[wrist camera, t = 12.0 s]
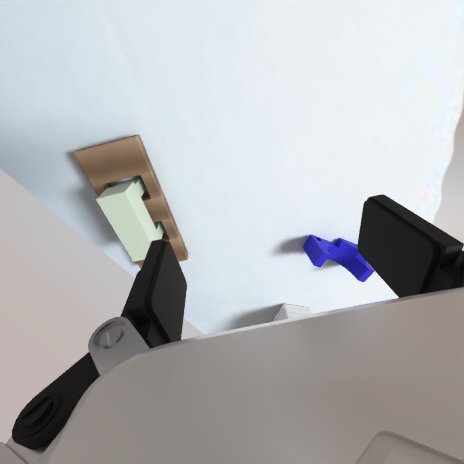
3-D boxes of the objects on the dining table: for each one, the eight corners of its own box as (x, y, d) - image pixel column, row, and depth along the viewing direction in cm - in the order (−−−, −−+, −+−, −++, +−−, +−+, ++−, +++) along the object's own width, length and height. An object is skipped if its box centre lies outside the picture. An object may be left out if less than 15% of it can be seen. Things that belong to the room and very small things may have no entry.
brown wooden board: (80, 149, 33) (73, 153, 31) (139, 134, 33) (135, 136, 31) (144, 263, 45) (141, 269, 43) (188, 253, 44) (187, 259, 43)
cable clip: (362, 246, 47) (380, 265, 42) (348, 262, 49) (363, 282, 44) (315, 227, 44) (328, 246, 39) (302, 245, 46) (313, 265, 41)
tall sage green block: (114, 181, 36) (95, 199, 30) (138, 175, 36) (124, 191, 30) (144, 237, 42) (133, 261, 36) (165, 232, 41) (157, 256, 36)
